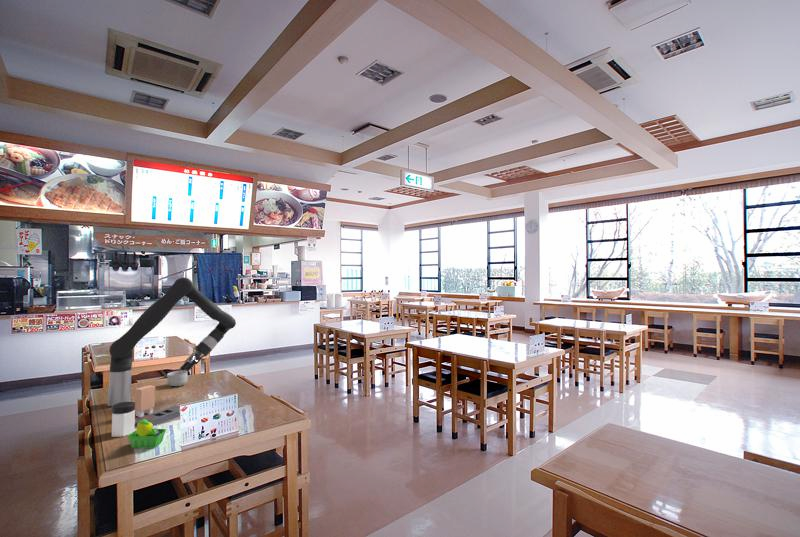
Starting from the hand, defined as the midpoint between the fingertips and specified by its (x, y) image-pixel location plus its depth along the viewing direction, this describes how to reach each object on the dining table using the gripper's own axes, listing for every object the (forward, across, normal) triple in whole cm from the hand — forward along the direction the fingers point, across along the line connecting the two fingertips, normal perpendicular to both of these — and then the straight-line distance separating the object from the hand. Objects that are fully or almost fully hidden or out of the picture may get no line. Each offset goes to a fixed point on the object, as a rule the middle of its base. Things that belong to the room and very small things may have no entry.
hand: (183, 369), depth 209 cm
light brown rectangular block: (+26, +4, 0) cm, 26 cm away
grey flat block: (+24, +15, +5) cm, 28 cm away
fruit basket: (+36, +43, 0) cm, 56 cm away
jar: (+37, +23, -5) cm, 44 cm away
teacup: (+2, -39, +13) cm, 41 cm away
